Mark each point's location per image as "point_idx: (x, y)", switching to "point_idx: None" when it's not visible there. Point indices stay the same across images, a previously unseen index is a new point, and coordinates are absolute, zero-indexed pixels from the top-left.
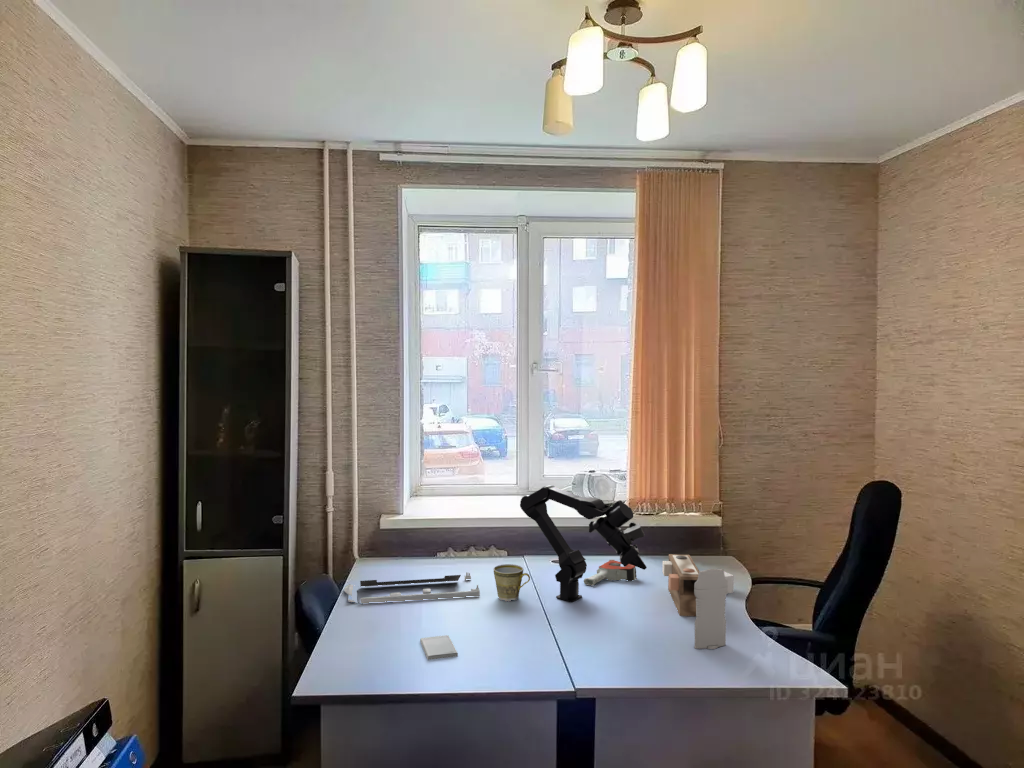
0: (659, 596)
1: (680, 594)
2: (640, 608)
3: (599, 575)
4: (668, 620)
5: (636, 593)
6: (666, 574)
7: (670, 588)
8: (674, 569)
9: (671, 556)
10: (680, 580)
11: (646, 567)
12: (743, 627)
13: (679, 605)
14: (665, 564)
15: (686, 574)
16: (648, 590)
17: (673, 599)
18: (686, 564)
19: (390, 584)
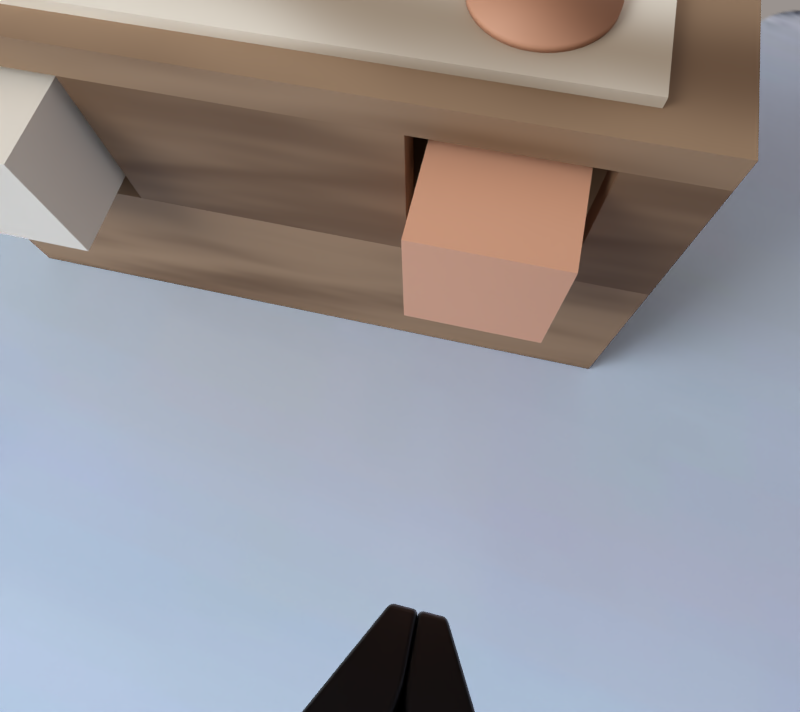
0: (161, 370)
1: (651, 286)
2: None
3: None
4: (683, 490)
5: (31, 542)
6: (90, 219)
7: (542, 334)
8: (254, 120)
9: None
10: (726, 197)
11: (448, 623)
12: (779, 76)
13: (594, 335)
14: (12, 152)
15: (665, 65)
16: (4, 409)
17: (293, 300)
18: None
19: None
